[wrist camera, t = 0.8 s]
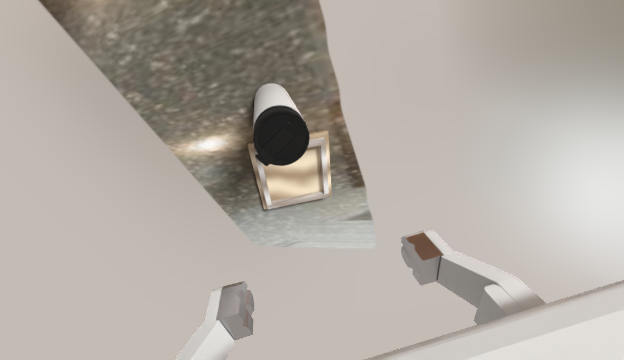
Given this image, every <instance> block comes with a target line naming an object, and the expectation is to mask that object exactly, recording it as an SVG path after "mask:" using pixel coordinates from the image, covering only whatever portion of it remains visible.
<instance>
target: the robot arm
mask: <svg viewBox="0 0 624 360" xmlns="http://www.w3.org/2000/svg"><path fill="white" fill-rule="evenodd" d="M402 243H403V247H402V250H401V253H402V256H403V259H404V261H405V263H406V264H407V266H408V267H410V268H412V269H413V275H414V277H415V278H416V279H417V281H418V282H419V284H420V285H424V284H428V283H431V282H435V281H437V282H438V283H440V284H441V285H443V286H444V287H446V288H447V289H449V290H450V291H452V292H454V293H455V294H457V295H458V296H460V297H461V298H463V299H465V300H466V301H467V302H469V303H470V304H472V305H474V306H475V307H477V308H478V309H477V312H476V315H475V318H474V321H475V322H476V324H477V325H476V326H473V327H469V328H466V329H463V330H459V331H456V332H453V333H450V334H446V335H443V336H440V337H437V338H434V339H430V340H427V341H424V342H420V343H417V344H414V345H410V346H408V347H404V348H401V349H397V350H394V351H391V352H388V353H384V354H381V355H378V356H375V357H371V358H368V359H365V360H624V280H622V281H619V282H616V283H613V284H609V285H606V286H603V287H599V288H597V289H593V290H590V291H586V292H583V293H580V294H577V295H573V296H570V297H567V298H564V299H561V300H557V301H554V302H551V303H547V304H546V303H545V302H544V301H543V300H542V299H541V298H540V297H539V296H537V295H536V294H535V293H534V292H533V291H532V290H531V289H529V288H528V287H527V286H526V285H525V284H524V283H523V282H522V281H521V280H519V279H518V278H517V277H516V276H514V275H511V274H509V273H506V272H504V271H502V270H500V269H497V268H495V267H493V266H490V265H488V264H485V263H483V262H481V261H478V260H476V259H474V258H471V257H469V256H467V255H464V254H462V253H460V252H454V251H453V250H452V249H451V248H450V247H449V246H448V245H447V244H446V243H445V242H444V241H443V240H442V239H441V238H440V237H439V235H438V234H437V233H436V232H435V231H434V230H432V229H428V230H425V231H421V232H417V233H413V234H410V235H407V236H403V237H402ZM253 311H254V300H253V296H252V293H251V291H250V290H247V284H246V283H245V281H243V282H239V283H236V284H232V285H227V286H223V287H220V288H216V289H213V290H212V292H211V295H210V299H209V303H208V307H207V312H206V316H205V321H204V324H203V325H200V326H199V328H198V329H197V330H196V332H195V333H194V334H193V336H192V337H191V338H190V340H189V341H188V342H187V344H186V345H185V346H184V348H183V349H182V351H181V352H180V354H178V356H177V357H176V358H175V360H226V358H227V356H228V354H229V352H230V350H231V348H232V346H233V344H234V342H235V341H234V340H237V339H240V338H243V337H246V336H250V335H252V334H253V319H252V317H251V314H252V312H253Z"/></svg>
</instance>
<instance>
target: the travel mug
mask: <svg viewBox="0 0 624 360" xmlns="http://www.w3.org/2000/svg"><path fill="white" fill-rule="evenodd" d="M253 133H254V138H253V141H254V147H255V149H256V151H257V153H258V155H257V154H256V155H255V157H256V158H257V159H258V160H259V161H260V162H261V163H263V164H264V165H265V166H268V165H269V164H272V165H276V166H285V165H289V164H292V163H294V162H296V161H297V160H299V159H300V158H301V157H302V156H303V155H304V153H305V152H306V150H307V148H308V145H309V140H310V136H309V131H308V129H307V126H306V123H305V121H304V119H303V117H302V116H301V114H300V112H299V111H298V109H297V107H296V106H295V104H294V103H293V101H292V99H291V98H290V96H289V94H288V93H287V91H286V90H285V89H284V88H283V87H282V86H280V85H278V84H276V83H267V84H264V85H262V86H261V87H260V88H259V89H258V90H257V92H256V94H255V100H254V124H253Z"/></svg>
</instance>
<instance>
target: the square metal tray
mask: <svg viewBox="0 0 624 360" xmlns="http://www.w3.org/2000/svg"><path fill="white" fill-rule="evenodd" d="M309 136H310V140H309V145H308V148H307V150H306V152H305V153H304V155H303V156H302V157H301V158H300V159H299V160H297V161H296V162H294V163H292V164H289V165H285V166H276V165H272V164H269V165H268V166H265V165H264V164H263V163H261V162H260V161H259V160H258V159H257V158H256V157H255V155H256V154H257V155H258V153H257V151H256V149H255V147H254V142H253V143H247V146H248V149H249V153H250V157H251V161H252V165H253V169H254V172H255V176H256V180H257V184H258V188H259V191H260V195H261V199H262V203H263V207H264V209H272V208H277V207H282V206H287V205H292V204H297V203H302V202H307V201H312V200H317V199H322V198H327V197H329V196H332V194H331V176H330V157H329V138H328V131H321V132H315V133H309Z"/></svg>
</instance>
